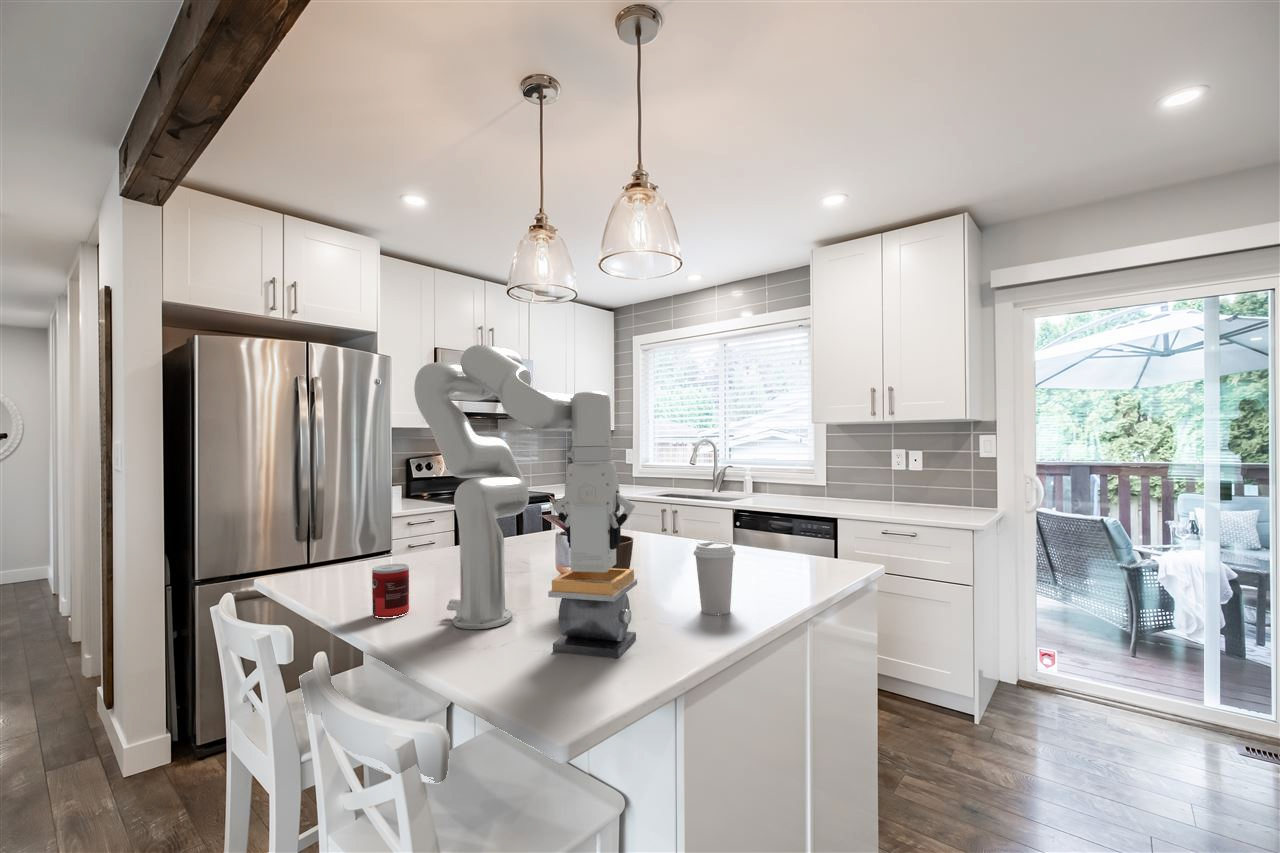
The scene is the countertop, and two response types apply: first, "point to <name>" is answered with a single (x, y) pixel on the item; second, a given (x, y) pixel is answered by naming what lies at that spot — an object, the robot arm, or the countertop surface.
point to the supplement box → (590, 538)
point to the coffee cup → (715, 576)
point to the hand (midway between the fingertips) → (593, 547)
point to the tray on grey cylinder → (594, 612)
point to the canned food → (390, 590)
